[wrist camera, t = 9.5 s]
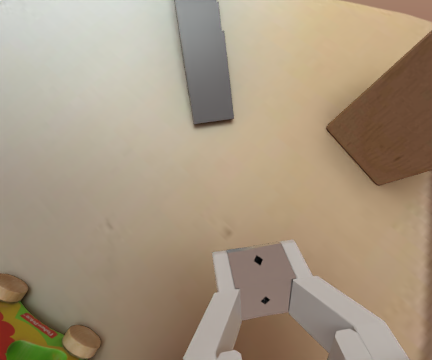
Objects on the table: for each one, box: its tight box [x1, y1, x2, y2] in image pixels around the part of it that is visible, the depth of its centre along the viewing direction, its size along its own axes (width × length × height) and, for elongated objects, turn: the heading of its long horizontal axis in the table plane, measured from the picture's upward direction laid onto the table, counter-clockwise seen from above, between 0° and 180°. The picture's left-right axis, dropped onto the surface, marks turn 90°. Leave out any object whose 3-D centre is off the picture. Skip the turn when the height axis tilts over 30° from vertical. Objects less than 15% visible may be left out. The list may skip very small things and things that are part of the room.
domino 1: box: [181, 31, 234, 124], centre depth 34 cm, size 2×5×10 cm
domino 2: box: [176, 2, 222, 96], centre depth 35 cm, size 2×5×10 cm
